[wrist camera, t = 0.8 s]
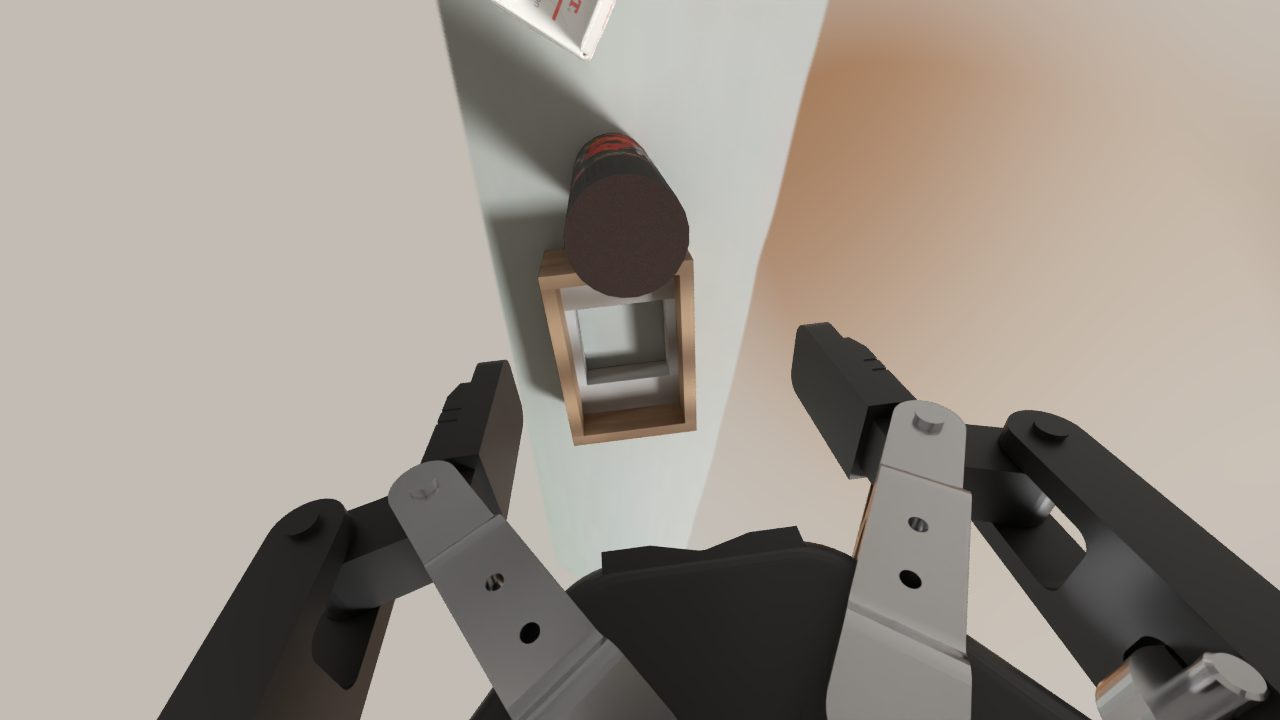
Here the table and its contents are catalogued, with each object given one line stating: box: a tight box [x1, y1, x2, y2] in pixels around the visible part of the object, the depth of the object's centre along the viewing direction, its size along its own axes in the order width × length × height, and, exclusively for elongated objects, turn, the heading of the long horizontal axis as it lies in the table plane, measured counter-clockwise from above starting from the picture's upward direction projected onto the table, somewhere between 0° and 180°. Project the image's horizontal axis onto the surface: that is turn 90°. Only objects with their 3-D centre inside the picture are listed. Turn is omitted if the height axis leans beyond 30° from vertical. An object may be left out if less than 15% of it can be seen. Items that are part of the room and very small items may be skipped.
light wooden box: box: [538, 249, 697, 446], centre depth 39 cm, size 16×11×6 cm
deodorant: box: [563, 133, 689, 298], centre depth 28 cm, size 6×6×15 cm
